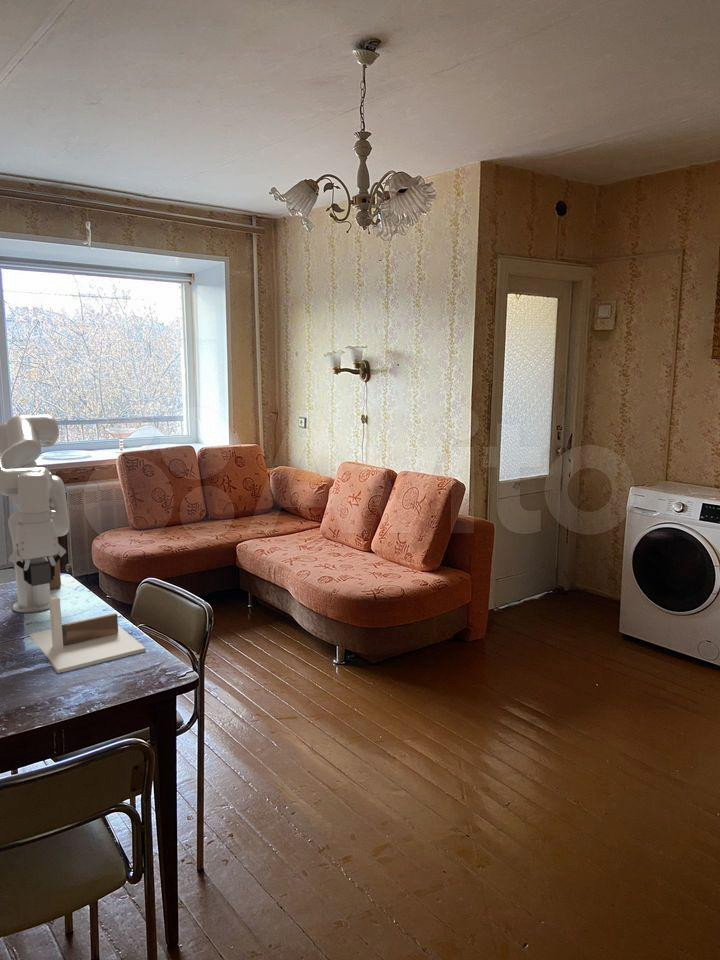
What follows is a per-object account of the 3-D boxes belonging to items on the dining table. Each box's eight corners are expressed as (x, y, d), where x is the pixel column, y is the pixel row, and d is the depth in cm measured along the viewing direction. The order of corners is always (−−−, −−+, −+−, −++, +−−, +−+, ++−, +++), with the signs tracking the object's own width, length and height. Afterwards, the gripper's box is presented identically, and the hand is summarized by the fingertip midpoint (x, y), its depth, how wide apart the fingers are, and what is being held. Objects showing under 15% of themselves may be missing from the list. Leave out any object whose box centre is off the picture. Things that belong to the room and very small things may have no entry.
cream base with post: (28, 637, 199) (24, 586, 196) (108, 620, 212) (105, 572, 210) (58, 673, 175) (53, 616, 173) (145, 651, 189) (142, 598, 187)
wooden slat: (62, 644, 191) (60, 624, 190) (116, 631, 200) (115, 613, 199) (63, 645, 190) (62, 626, 189) (118, 633, 199) (117, 614, 198)
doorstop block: (25, 578, 198) (23, 559, 197) (43, 575, 201) (42, 556, 200) (32, 586, 192) (30, 566, 191) (51, 582, 195) (50, 563, 194)
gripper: (63, 510, 199) (67, 571, 203) (-3, 518, 189) (3, 583, 192) (71, 515, 193) (75, 578, 197) (4, 524, 183) (9, 590, 187)
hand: (39, 580), depth 195 cm, fingers closed on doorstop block, 5 cm apart
